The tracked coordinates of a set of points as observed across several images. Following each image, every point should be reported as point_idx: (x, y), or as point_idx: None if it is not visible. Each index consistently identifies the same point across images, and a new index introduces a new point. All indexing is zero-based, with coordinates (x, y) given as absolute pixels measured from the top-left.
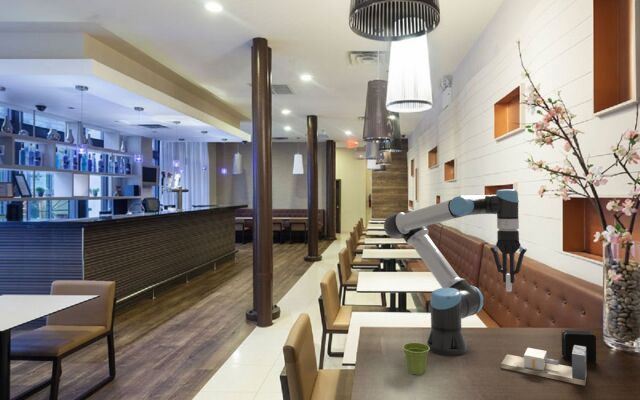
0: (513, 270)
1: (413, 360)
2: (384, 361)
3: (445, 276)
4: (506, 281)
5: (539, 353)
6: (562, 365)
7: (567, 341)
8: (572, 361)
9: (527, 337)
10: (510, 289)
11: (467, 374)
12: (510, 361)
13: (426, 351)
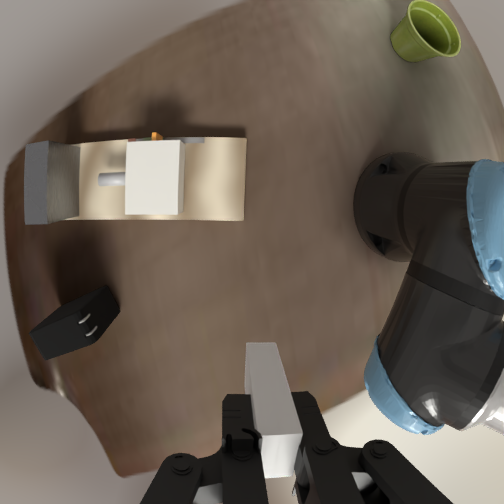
0: (222, 483)
1: (417, 14)
2: (466, 79)
3: None
4: (284, 387)
5: (140, 180)
6: (102, 216)
7: (84, 303)
8: (59, 143)
9: (221, 399)
10: (247, 357)
11: (313, 63)
12: (225, 167)
13: (408, 7)
